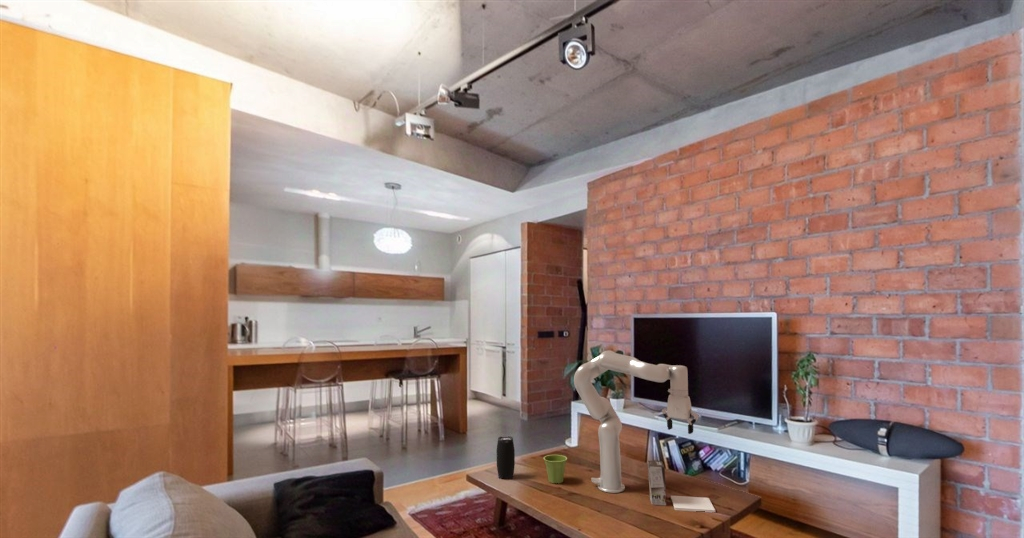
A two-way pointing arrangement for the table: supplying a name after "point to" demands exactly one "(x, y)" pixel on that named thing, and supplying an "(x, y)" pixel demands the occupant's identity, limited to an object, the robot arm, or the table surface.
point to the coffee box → (657, 482)
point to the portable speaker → (505, 457)
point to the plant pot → (555, 467)
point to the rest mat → (692, 504)
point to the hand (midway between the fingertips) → (680, 431)
